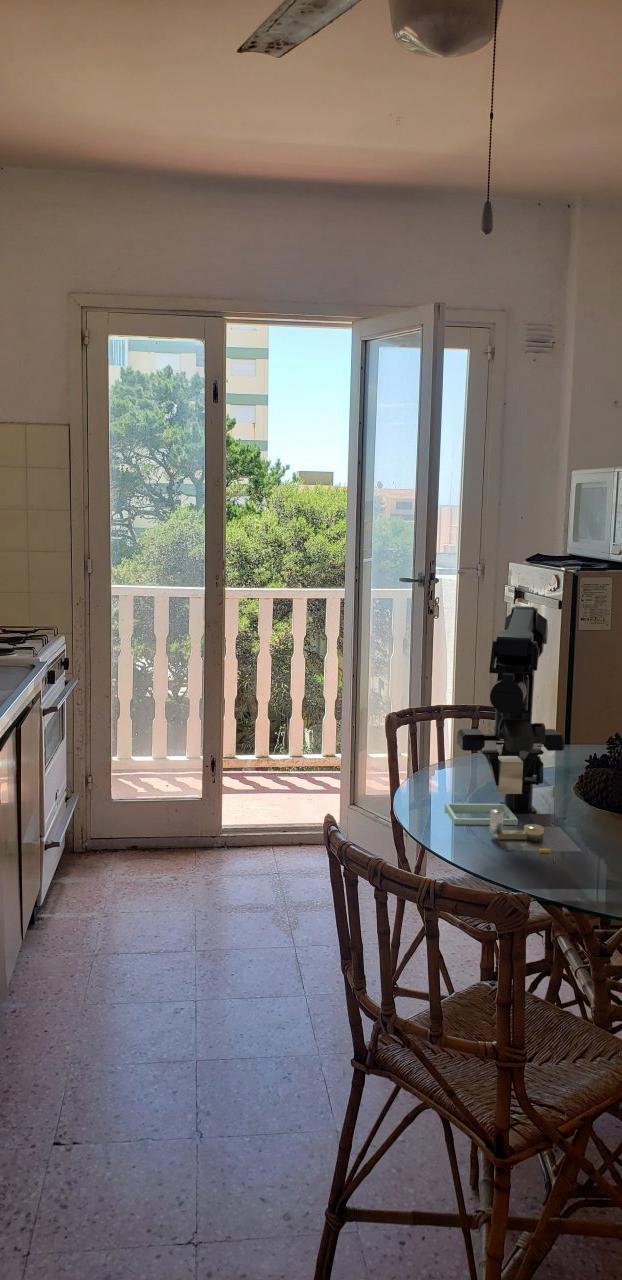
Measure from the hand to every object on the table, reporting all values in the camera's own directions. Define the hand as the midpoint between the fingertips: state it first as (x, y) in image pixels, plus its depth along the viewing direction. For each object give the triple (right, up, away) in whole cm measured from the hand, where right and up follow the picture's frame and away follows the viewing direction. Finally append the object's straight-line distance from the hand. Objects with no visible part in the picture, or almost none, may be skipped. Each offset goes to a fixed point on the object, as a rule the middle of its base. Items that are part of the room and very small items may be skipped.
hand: (508, 785), depth 182 cm
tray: (-3, -10, +14) cm, 18 cm away
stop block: (0, -1, 0) cm, 1 cm away
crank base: (+5, -12, +1) cm, 13 cm away
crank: (+2, -10, +1) cm, 10 cm away
